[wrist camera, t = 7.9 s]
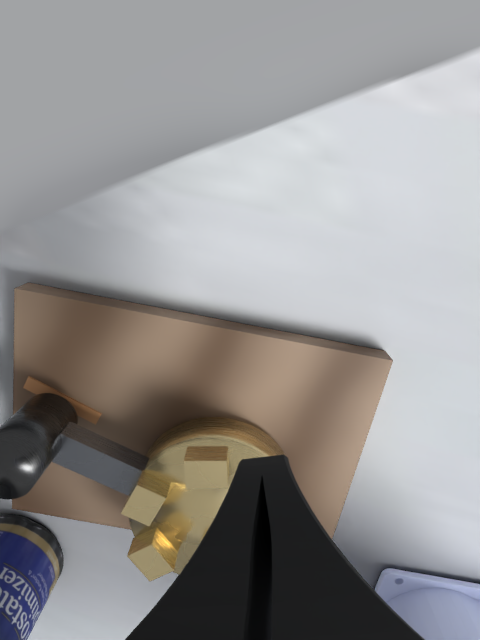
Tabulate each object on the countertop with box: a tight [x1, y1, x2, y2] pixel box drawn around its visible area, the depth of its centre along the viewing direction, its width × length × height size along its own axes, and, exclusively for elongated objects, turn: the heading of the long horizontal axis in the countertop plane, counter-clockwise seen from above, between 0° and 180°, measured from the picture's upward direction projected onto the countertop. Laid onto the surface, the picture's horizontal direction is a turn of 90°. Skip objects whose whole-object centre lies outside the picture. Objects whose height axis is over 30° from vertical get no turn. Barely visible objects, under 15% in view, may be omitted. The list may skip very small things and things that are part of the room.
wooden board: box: [12, 283, 393, 539], centre depth 21 cm, size 18×13×1 cm
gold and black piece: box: [0, 393, 286, 581], centre depth 19 cm, size 14×8×5 cm, turn 62°
